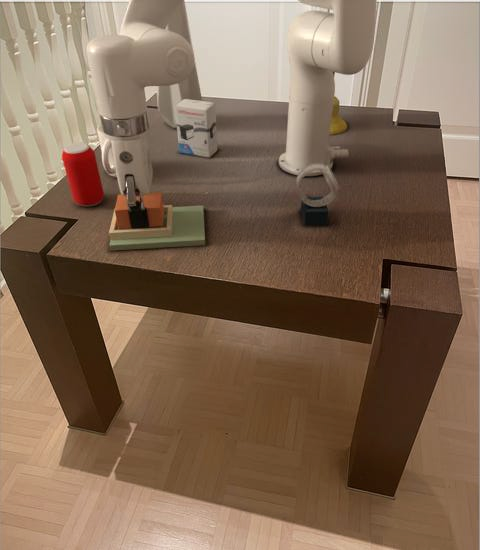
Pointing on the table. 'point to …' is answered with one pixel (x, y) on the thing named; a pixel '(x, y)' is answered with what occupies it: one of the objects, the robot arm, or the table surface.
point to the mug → (106, 153)
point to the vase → (186, 88)
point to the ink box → (196, 127)
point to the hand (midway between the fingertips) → (141, 217)
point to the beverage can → (83, 174)
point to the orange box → (150, 202)
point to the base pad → (162, 231)
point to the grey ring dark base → (316, 207)
